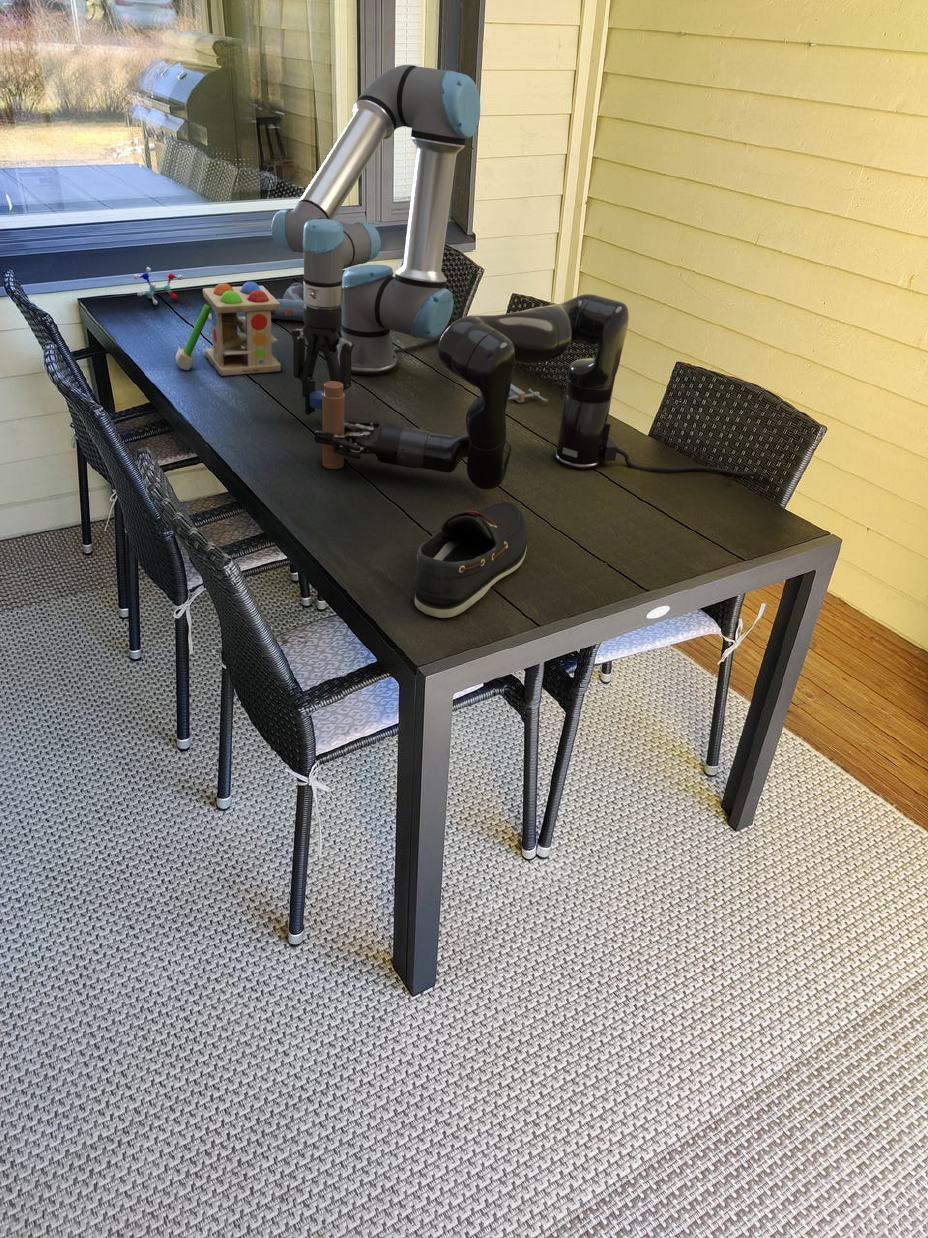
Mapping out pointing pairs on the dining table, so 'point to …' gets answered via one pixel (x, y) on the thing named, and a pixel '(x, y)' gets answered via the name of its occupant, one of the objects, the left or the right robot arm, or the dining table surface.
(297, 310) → the power drill
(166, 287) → the molecular model
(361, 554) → the dining table surface
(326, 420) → the jar
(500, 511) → the boat shoe
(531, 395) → the clamp
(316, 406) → the lid
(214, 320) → the pounding bench toy
